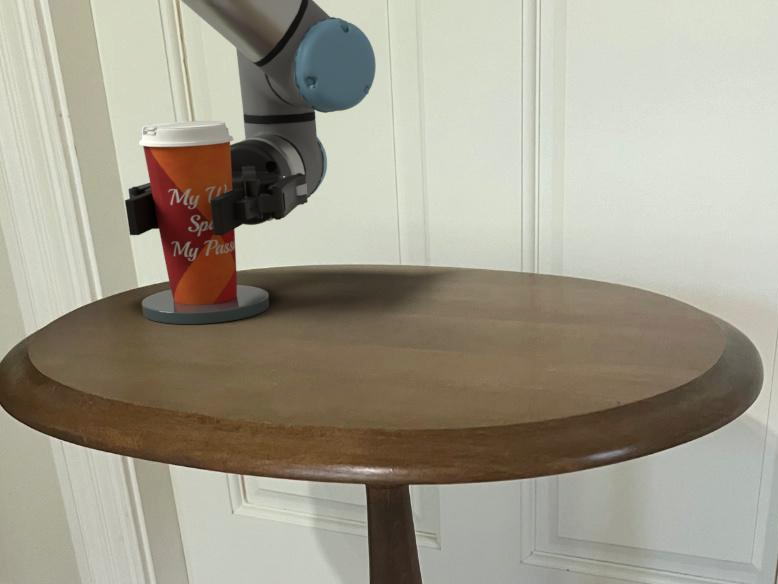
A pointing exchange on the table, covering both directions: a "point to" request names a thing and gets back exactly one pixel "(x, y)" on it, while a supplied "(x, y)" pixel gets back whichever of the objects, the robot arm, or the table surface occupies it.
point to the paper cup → (192, 207)
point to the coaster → (205, 307)
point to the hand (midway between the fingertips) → (174, 217)
